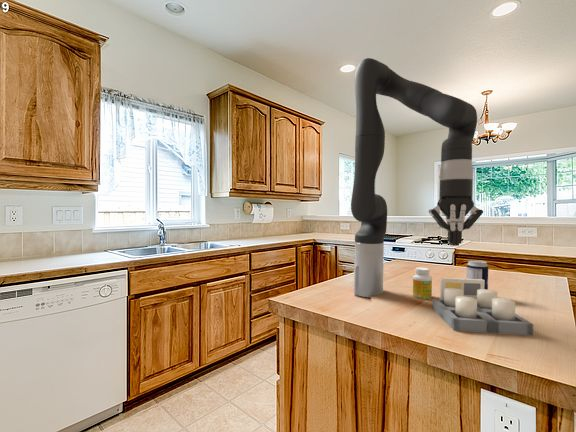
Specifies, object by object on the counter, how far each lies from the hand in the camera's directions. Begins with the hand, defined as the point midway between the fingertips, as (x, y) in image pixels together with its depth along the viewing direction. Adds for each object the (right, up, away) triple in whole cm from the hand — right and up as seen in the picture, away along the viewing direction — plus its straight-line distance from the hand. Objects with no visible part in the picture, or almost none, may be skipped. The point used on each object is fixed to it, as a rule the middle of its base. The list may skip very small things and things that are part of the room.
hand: (454, 245), depth 80 cm
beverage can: (+16, -19, +16) cm, 29 cm away
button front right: (+7, -16, -9) cm, 19 cm away
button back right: (+8, -16, -1) cm, 18 cm away
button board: (+3, -19, -4) cm, 20 cm away
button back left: (0, -16, 0) cm, 16 cm away
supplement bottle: (-1, -19, +16) cm, 25 cm away
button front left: (-1, -16, -7) cm, 18 cm away
